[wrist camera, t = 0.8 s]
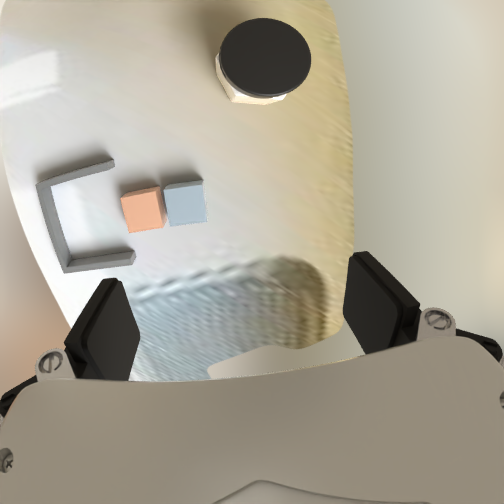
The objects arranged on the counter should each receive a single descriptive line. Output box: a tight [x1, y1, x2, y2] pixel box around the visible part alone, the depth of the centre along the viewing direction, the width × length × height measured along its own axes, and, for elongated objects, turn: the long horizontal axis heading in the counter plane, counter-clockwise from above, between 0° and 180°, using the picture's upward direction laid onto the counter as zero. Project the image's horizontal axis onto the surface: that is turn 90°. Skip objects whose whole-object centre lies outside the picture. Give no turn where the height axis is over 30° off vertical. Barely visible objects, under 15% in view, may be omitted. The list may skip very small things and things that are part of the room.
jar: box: [215, 18, 311, 105], centre depth 24 cm, size 9×8×12 cm
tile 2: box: [120, 186, 167, 233], centre depth 35 cm, size 5×5×3 cm
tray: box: [36, 160, 136, 273], centre depth 34 cm, size 15×13×2 cm
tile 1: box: [164, 180, 208, 226], centre depth 35 cm, size 5×5×3 cm
